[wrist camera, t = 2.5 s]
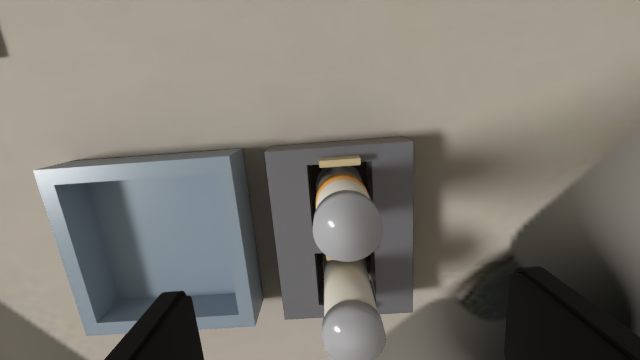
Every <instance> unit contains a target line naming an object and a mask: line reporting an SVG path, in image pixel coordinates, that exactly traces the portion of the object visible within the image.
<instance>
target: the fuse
mask: <svg viewBox="0 0 640 360" xmlns="http://www.w3.org/2000/svg"><path fill="white" fill-rule="evenodd" d="M366 268H367V264H366V259H365V258H363V259H361V260H357V261H352V262H342V261H337V260H328V261H327V259H326V255H325V254H323V272H324V319H323V324H322V343H323V347H324V350H325V352H326V353H327V354H328V356H329V357H330V358H332V359H333V360H375V358H377V357H378V356H379V355H380V354H381V353H382V351H383V349H384V347H385V343H386V335H385V331H384V327H383V323H382V320H381V317H380V314H379V313H378V311H377V308H376V304H375V300H374V296H373V292H372V288H371V284H370V280H369V277H368V273H367V269H366Z"/></svg>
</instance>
